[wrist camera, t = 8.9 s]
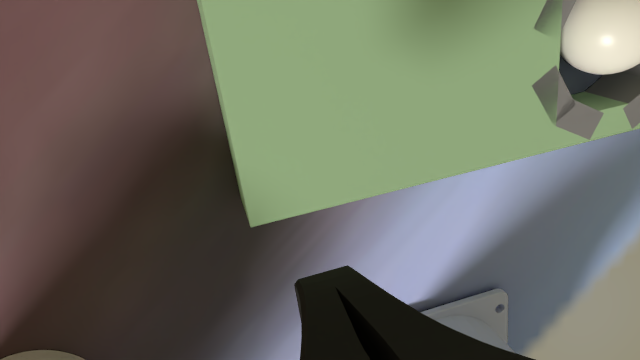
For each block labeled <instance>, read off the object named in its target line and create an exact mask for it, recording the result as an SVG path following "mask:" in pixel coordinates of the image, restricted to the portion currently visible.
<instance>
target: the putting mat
mask: <svg viewBox="0 0 640 360" xmlns="http://www.w3.org/2000/svg"><path fill="white" fill-rule="evenodd" d="M197 2H198V7H199V11H200V16H201V20H202V25H203V29H204V34H205V39H206V43H207V48H208V52H209V57H210V61H211V66H212V70H213V75H214V79H215V84H216V88H217V93H218V97H219V102H220V106H221V111H222V115H223V120H224V124H225V129H226V133H227V138H228V142H229V147H230V151H231V156H232V160H233V165H234V169H235V174H236V178H237V183H238V187H239V192H240V196H241V201H242V204H243V207H244V209H245V212H246V215H247V218H248V221H249V224H250V227H255V226H258V225H262V224H266V223H270V222H274V221H278V220H282V219H286V218H290V217H294V216H298V215H302V214H306V213H310V212H313V211H317V210H321V209H325V208H329V207H333V206H337V205H341V204H345V203H349V202H353V201H357V200H361V199H365V198H369V197H372V196H376V195H380V194H384V193H388V192H392V191H396V190H400V189H404V188H408V187H412V186H416V185H420V184H424V183H427V182H431V181H435V180H439V179H443V178H447V177H451V176H455V175H459V174H463V173H467V172H471V171H475V170H479V169H482V168H486V167H490V166H494V165H498V164H502V163H506V162H510V161H514V160H518V159H522V158H526V157H530V156H534V155H537V154H541V153H545V152H549V151H553V150H557V149H561V148H565V147H569V146H573V145H577V144H581V143H585V142H589V141H592V140H596V139H600V138H604V137H608V136H612V135H616V134H620V133H624V132H628V131H632V130H636V129H640V64H638V65H636V66H634V67H633V68H630V69H628V70H625V71H622V72H619V73H614V74H604V75H603V76H602V77H601V78H600V79H599V80H597V81H596V82H595V83H594V84H593V85H592V86H590V87H589V88H588V89H587V90H586V91H585V92H581V93H576V94H572V95H571V94H570V92H569V90H568V88H567V86H566V84H565V82H564V80H563V78H562V76H561V74H560V72H559V59H560V39H561V31H562V29H563V27H564V25H565V23H566V21H567V19H568V16H569V14H570V12H571V10H572V8H573V6H574V4H575V2H576V0H197Z"/></svg>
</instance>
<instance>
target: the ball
mask: <svg viewBox="0 0 640 360" xmlns="http://www.w3.org/2000/svg"><path fill="white" fill-rule="evenodd" d="M560 55H561V56H562V57H563V58H564V59H565V60H566V61H567V62H568V63H569V64H570V65H572V66H573V67H575V68H577V69H579V70H581V71H584V72H587V73H591V74H602V75H604V74H614V73H619V72H622V71H625V70H628V69H630V68H633V67H634V66H636V65H638V64H640V0H576V2H575V4H574V6H573V8H572V10H571V12H570V14H569V16H568V19H567V21H566V23H565V25H564V27H563V29H562V31H561V39H560Z"/></svg>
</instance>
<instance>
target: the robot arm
mask: <svg viewBox="0 0 640 360" xmlns="http://www.w3.org/2000/svg"><path fill="white" fill-rule="evenodd" d="M295 291H296V296H297V301H298V307H299V312H300V317H301V322H302V342H301V354H300V360H535V359H531V358H528V357H525V356H522V355H519V354H516V353H515V352H514V351H513V350H512V349H511V348H510V347H509V346H508V295H507V293H506V292H505V291H503V290H502V289H500V288H499V289H494V290H491V291H487V292H484V293H481V294H478V295H474V296H471V297H468V298H465V299H461V300H458V301H455V302H452V303H449V304H445V305H442V306H439V307H436V308H432V309H429V310H426V311H423V312H419V311H417V310H415V309H413V308H412V307H410V306H408V305H407V304H405V303H404V302H402V301H400V300H399V299H397V298H395V297H394V296H392V295H391V294H389V293H388V292H386V291H385V290H383V289H382V288H380V287H379V286H377V285H376V284H374V283H373V282H371V281H370V280H368V279H367V278H365V277H364V276H363V275H361V274H360V273H358V272H357V271H355V270H354V269H352V268H351V267H349V266H344V267H341V268H337V269H333V270H330V271H326V272H323V273H319V274H316V275H312V276H308V277H305V278H301V279H298V280H297V282H296V283H295ZM498 305H499V306H498ZM497 306H498V307H497ZM496 307H497V308H496Z"/></svg>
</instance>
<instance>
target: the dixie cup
mask: <svg viewBox="0 0 640 360" xmlns="http://www.w3.org/2000/svg"><path fill="white" fill-rule="evenodd" d="M0 360H85V359H83V358H81V357H79V356H76V355H73V354H70V353H66V352H61V351H54V350H33V351H26V352H21V353H17V354H13V355H10V356H7V357H5V358H2V359H0Z"/></svg>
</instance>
